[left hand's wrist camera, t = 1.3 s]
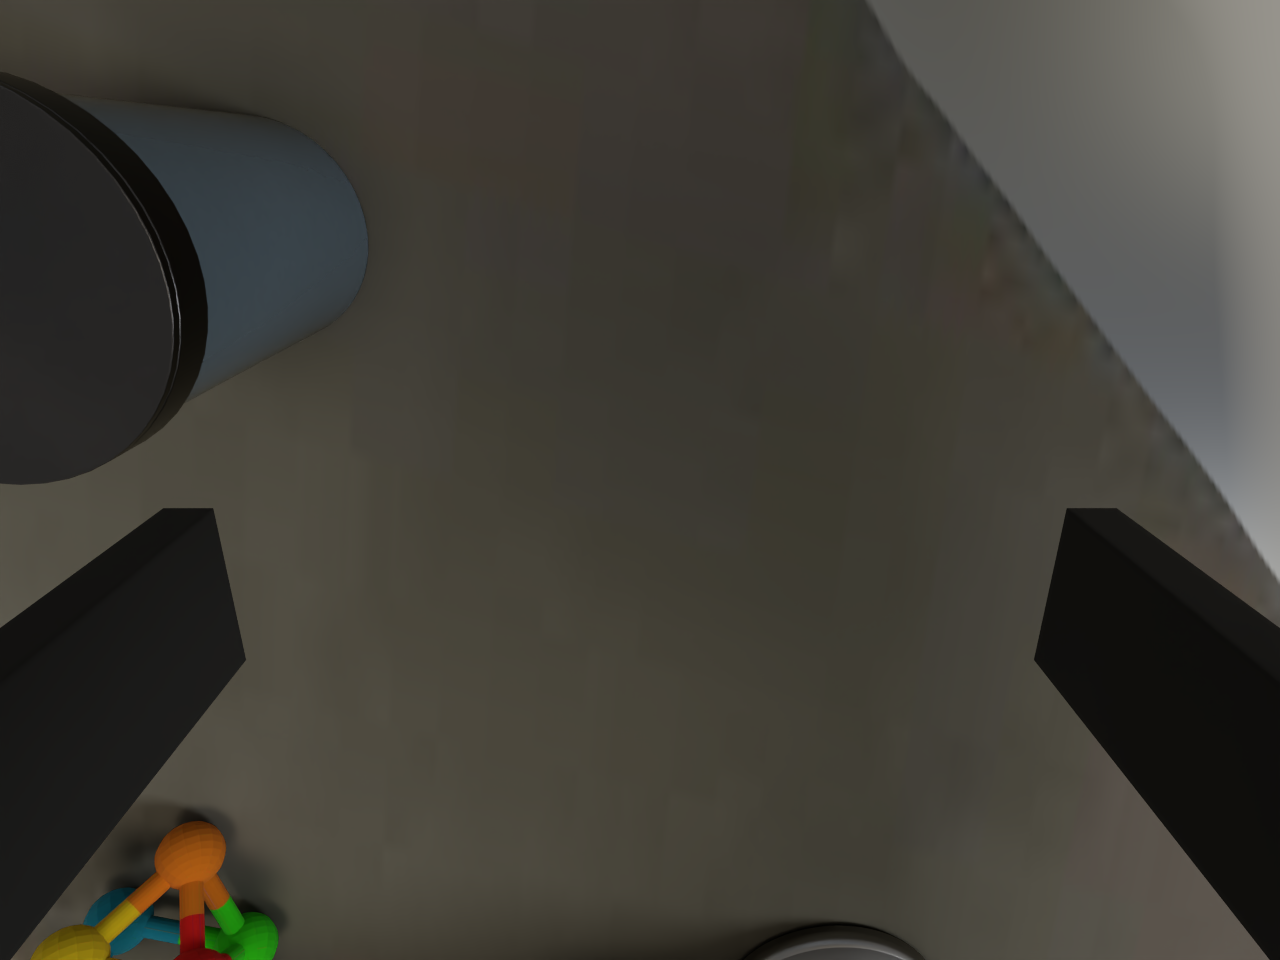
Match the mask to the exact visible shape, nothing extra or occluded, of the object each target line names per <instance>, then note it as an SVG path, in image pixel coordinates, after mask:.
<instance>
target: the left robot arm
mask: <svg viewBox="0 0 1280 960" xmlns="http://www.w3.org/2000/svg"><path fill="white" fill-rule="evenodd" d="M245 660H246V658H245V653H244V649H243V644H242V639H241V635H240V630H239V625H238V621H237V616H236V612H235V607H234V602H233V598H232V593H231V589H230V584H229V579H228V575H227V570H226V565H225V561H224V556H223V552H222V547H221V542H220V538H219V533H218V528H217V524H216V519H215V515H214V510H213V508H163V509H162V510H160V511H159V512H158V513H156V514H155V515H154V516H152V517H151V518H150V519H148V520H147V521H145V522H144V523H143V524H141V525H140V526H139V527H137V528H136V529H135V530H133V531H132V532H130V533H129V534H128V535H126V536H125V537H124V538H122V539H121V540H120V541H118V542H117V543H115V544H114V545H113V546H111V547H110V548H109V549H107V550H106V551H105V552H103V553H102V554H100V555H99V556H98V557H96V558H95V559H94V560H92V561H91V562H90V563H88V564H87V565H86V566H84V567H83V568H81V569H80V570H79V571H77V572H76V573H75V574H73V575H72V576H71V577H69V578H68V579H66V580H65V581H64V582H62V583H61V584H60V585H58V586H57V587H56V588H54V589H53V590H51V591H50V592H49V593H47V594H46V595H45V596H43V597H42V598H41V599H39V600H38V601H36V602H35V603H34V604H32V605H31V606H30V607H28V608H27V609H26V610H24V611H23V612H21V613H20V614H19V615H17V616H16V617H15V618H13V619H12V620H11V621H9V622H8V623H6V624H5V625H4V626H2V627H1V628H0V960H10V959H11V958H12V957H13V956H14V954H15V953H16V952H17V951H18V949H19V948H20V947H21V945H22V944H23V943H24V942H25V940H26V939H27V938H28V937H29V935H30V934H31V933H32V931H33V930H34V929H35V928H36V926H37V925H38V924H39V923H40V921H41V920H42V919H43V917H44V916H45V915H46V914H47V912H48V911H49V910H50V909H51V907H52V906H53V905H54V903H55V902H56V901H57V900H58V898H59V897H60V896H61V895H62V893H63V892H64V891H65V889H66V888H67V887H68V886H69V884H70V883H71V882H72V881H73V879H74V878H75V877H76V875H77V874H78V873H79V872H80V870H81V869H82V868H83V867H84V865H85V864H86V863H87V861H88V860H89V859H90V858H91V856H92V855H93V854H94V853H95V851H96V850H97V849H98V847H99V846H100V845H101V844H102V842H103V841H104V840H105V839H106V837H107V836H108V835H109V833H110V832H111V831H112V830H113V828H114V827H115V826H116V825H117V823H118V822H119V821H120V819H121V818H122V817H123V816H124V814H125V813H126V812H127V811H128V809H129V808H130V807H131V805H132V804H133V803H134V802H135V800H136V799H137V798H138V797H139V795H140V794H141V793H142V791H143V790H144V789H145V788H146V786H147V785H148V784H149V783H150V781H151V780H152V779H153V777H154V776H155V775H156V774H157V772H158V771H159V770H160V769H161V767H162V766H163V765H164V763H165V762H166V761H167V760H168V758H169V757H170V756H171V755H172V753H173V752H174V751H175V749H176V748H177V747H178V746H179V744H180V743H181V742H182V741H183V739H184V738H185V737H186V735H187V734H188V733H189V732H190V730H191V729H192V728H193V727H194V725H195V724H196V723H197V721H198V720H199V719H200V718H201V716H202V715H203V714H204V713H205V711H206V710H207V709H208V707H209V706H210V705H211V704H212V702H213V701H214V700H215V699H216V697H217V696H218V695H219V693H220V692H221V691H222V690H223V688H224V687H225V686H226V685H227V683H228V682H229V681H230V679H231V678H232V677H233V676H234V674H235V673H236V672H237V671H238V669H239V668H240V667H241V665H242V664H243V663H244V662H245ZM1034 660H1035V662H1036V663H1037V664H1038V665H1039V667H1040V668H1041V669H1042V671H1043V672H1044V673H1045V674H1046V676H1047V677H1048V678H1049V679H1050V681H1051V682H1052V683H1053V685H1054V686H1055V687H1056V688H1057V690H1058V691H1059V692H1060V693H1061V695H1062V696H1063V697H1064V699H1065V700H1066V701H1067V702H1068V704H1069V705H1070V706H1071V707H1072V709H1073V710H1074V711H1075V713H1076V714H1077V715H1078V716H1079V718H1080V719H1081V720H1082V721H1083V723H1084V724H1085V725H1086V727H1087V728H1088V729H1089V730H1090V732H1091V733H1092V734H1093V735H1094V737H1095V738H1096V739H1097V741H1098V742H1099V743H1100V744H1101V746H1102V747H1103V748H1104V749H1105V751H1106V752H1107V753H1108V755H1109V756H1110V757H1111V758H1112V760H1113V761H1114V762H1115V763H1116V765H1117V766H1118V767H1119V769H1120V770H1121V771H1122V772H1123V774H1124V775H1125V776H1126V777H1127V779H1128V780H1129V781H1130V783H1131V784H1132V785H1133V786H1134V788H1135V789H1136V790H1137V791H1138V793H1139V794H1140V795H1141V797H1142V798H1143V799H1144V800H1145V802H1146V803H1147V804H1148V805H1149V807H1150V808H1151V809H1152V811H1153V812H1154V813H1155V814H1156V816H1157V817H1158V818H1159V819H1160V821H1161V822H1162V823H1163V825H1164V826H1165V827H1166V828H1167V830H1168V831H1169V832H1170V833H1171V835H1172V836H1173V837H1174V839H1175V840H1176V841H1177V842H1178V844H1179V845H1180V846H1181V847H1182V849H1183V850H1184V851H1185V853H1186V854H1187V855H1188V856H1189V858H1190V859H1191V860H1192V861H1193V863H1194V864H1195V865H1196V867H1197V868H1198V869H1199V870H1200V872H1201V873H1202V874H1203V875H1204V877H1205V878H1206V879H1207V881H1208V882H1209V883H1210V884H1211V886H1212V887H1213V888H1214V889H1215V891H1216V892H1217V893H1218V895H1219V896H1220V897H1221V898H1222V900H1223V901H1224V902H1225V903H1226V905H1227V906H1228V907H1229V909H1230V910H1231V911H1232V912H1233V914H1234V915H1235V916H1236V917H1237V919H1238V920H1239V921H1240V923H1241V924H1242V925H1243V926H1244V928H1245V929H1246V930H1247V931H1248V933H1249V934H1250V935H1251V937H1252V938H1253V939H1254V940H1255V942H1256V943H1257V944H1258V945H1259V947H1260V948H1261V949H1262V951H1263V952H1264V953H1265V954H1266V956H1267V957H1268V958H1269V959H1270V960H1280V628H1279V627H1278V626H1276V625H1275V624H1274V623H1272V622H1271V621H1269V620H1268V619H1267V618H1265V617H1264V616H1263V615H1261V614H1260V613H1259V612H1257V611H1256V610H1254V609H1253V608H1252V607H1250V606H1249V605H1248V604H1246V603H1245V602H1244V601H1242V600H1241V599H1239V598H1238V597H1237V596H1235V595H1234V594H1233V593H1231V592H1230V591H1229V590H1227V589H1226V588H1224V587H1223V586H1222V585H1220V584H1219V583H1218V582H1216V581H1215V580H1214V579H1212V578H1211V577H1209V576H1208V575H1207V574H1205V573H1204V572H1203V571H1201V570H1200V569H1199V568H1197V567H1196V566H1194V565H1193V564H1192V563H1190V562H1189V561H1188V560H1186V559H1185V558H1184V557H1182V556H1181V555H1180V554H1178V553H1177V552H1175V551H1174V550H1173V549H1171V548H1170V547H1169V546H1167V545H1166V544H1165V543H1163V542H1162V541H1160V540H1159V539H1158V538H1156V537H1155V536H1154V535H1152V534H1151V533H1150V532H1148V531H1147V530H1145V529H1144V528H1143V527H1141V526H1140V525H1139V524H1137V523H1136V522H1135V521H1133V520H1132V519H1130V518H1129V517H1128V516H1126V515H1125V514H1124V513H1122V512H1121V511H1120V510H1118V509H1117V508H1067V510H1066V515H1065V519H1064V524H1063V528H1062V533H1061V538H1060V542H1059V547H1058V552H1057V556H1056V561H1055V565H1054V570H1053V575H1052V579H1051V584H1050V589H1049V593H1048V598H1047V602H1046V607H1045V612H1044V616H1043V621H1042V625H1041V630H1040V635H1039V639H1038V644H1037V649H1036V653H1035V658H1034ZM744 960H925V959H924V958H923V957H922V956H921V955H920V954H919V953H918V952H917V951H916V950H915V949H914V948H912V947H911V946H910V945H908V944H907V943H905V942H903V941H901V940H900V939H898V938H896V937H893V936H891V935H889V934H886V933H883V932H880V931H876V930H873V929H868V928H863V927H855V926H822V927H814V928H808V929H803V930H799V931H795V932H792V933H789V934H786V935H783V936H781V937H778V938H776V939H774V940H772V941H770V942H768V943H766V944H764V945H762V946H761V947H759V948H758V949H756V950H755V951H753V952H752V953H751V954H749V955H748V956H747V957H746V958H745V959H744Z"/></svg>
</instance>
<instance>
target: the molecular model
mask: <svg viewBox="0 0 1280 960" xmlns="http://www.w3.org/2000/svg"><path fill="white" fill-rule="evenodd" d="M225 852H226V842H225V840H224V837H223V835H222V834H221V832H220V831H219V830H218V829H217V827H216V826H214V825H212V824H210V823H207V822H203V821H191V822H188V823H184V824H181V825H180V826H178V827H176V828H174V829H173V830H171V831H170V832H169V833H168V834H167V835H166V836H165V837H164V838H163V840H162V842H161V843H160V845H159V847H158V849H157V851H156V854H155V868H156V872H155V873H154V874H153V875H152V876H151V877H150V878H149V879H148V880H146V881H145V882H144V883H143V884H142V885H141V886H140V887H139V888H137V889H135V888H130V887H126V888H118V889H115V890H112V891H110V892H108V893H107V894H105V895H103V896H102V897H101V898H99V899H98V900H97V901H96V902H95V903H94V904H93V905H92V907H91V908H90V910H89V912H88V914H87V915H86V917H85V920H84V923H83V925H82V924H81V925H73V926H68V927H65V928H62V929H60V930H59V931H57V932H55V933H53V934H51V935H50V936H49V937H48V938H46V939H45V940H44V941H43V942H42V943H41V944H40V945H39V946H38V947H37V949H36V950H35V952H34V954H33V955H32V957H31V959H30V960H120V959H115V958H112V956H113V955H119V954H122V953H125V952H127V951H129V950H131V949H132V948H133V947H135V946H136V945H138V944H139V943H140V942H141V941H142V939H143V938H148V939H153V940H158V941H164V942H169V943H174V944H179V945H180V955H179V956H177V957H176V958H175V959H174V960H272V959H273V957H274V955H275V952H276V949H277V946H278V939H279V937H278V931H277V928H276V926H275V924H274V923H273V922H272V920H271V919H270V918H269V917H268V916H266V915H265V914H262V913H258V912H247V913H243V914H241V913H240V911H239V910H238V908H237V906H236V905H235V903H234V901H233V900H232V898H231V896H230V895H229V893H228V891H227V890H226V888H225V886H224V885H223V883H222V881H221V880H220V878H219V876H218V875H217V871H218V870H219V869H220V868H221V865H222V863H223V860H224V857H225ZM170 887H171V888H173V889H177V890H179V901H180V921H178V920H173V919H168V918H163V917H158V916H154V906H153V903H154V902H155V901H156V900H157V899H158V898H159V897H161V896H162V895H163V894H164V893H165V892H166V891H167V890H168V889H169V888H170ZM204 901H205V903H206V904H207V906H208V908H209V909H210V911H211V912H212V914H213V916H214V917H215V919H216V921H217V922H218V924H219V925H220V927H221V929H220V928H214V927H209V926H205V919H204Z"/></svg>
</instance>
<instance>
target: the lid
mask: <svg viewBox="0 0 1280 960" xmlns="http://www.w3.org/2000/svg"><path fill="white" fill-rule="evenodd" d="M207 335H208V303H207V295H206V288H205V281H204V277H203V273H202V269H201V265H200V261H199V258H198V254H197V252H196V249H195V247H194V244H193V242H192V239H191V237H190V234H189V231H188V229H187V227H186V225H185V223H184V221H183V220H182V218H181V216H180V214H179V212H178V210H177V208H176V206H175V204H174V203H173V201H172V200H171V198H170V197H169V195H168V194H167V192H166V191H165V189H164V188H163V186H162V185H161V183H160V182H159V180H158V179H157V178H156V176H155V175H154V174H153V173H152V172H151V170H150V169H149V168H148V167H147V166H146V164H145V163H144V162H143V161H142V160H141V158H140V157H139V156H138V155H137V154H136V153H135V152H134V151H133V150H132V149H131V148H130V147H129V146H128V145H127V144H126V143H125V142H124V141H123V140H122V139H121V138H120V137H119V136H118V135H116V134H115V133H114V132H113V131H112V130H111V129H109V128H108V127H107V126H105V125H104V124H103V123H102V122H100V121H99V120H98V119H97V118H95V117H94V116H93V115H91V114H90V113H89V112H87V111H86V110H84V109H82V108H81V107H79V106H78V105H76V104H74V103H73V102H71V101H70V100H68V99H66V98H65V97H63V96H61V95H59V94H57V93H55V92H53V91H51V90H49V89H47V88H45V87H43V86H41V85H39V84H36V83H34V82H31V81H28V80H26V79H23V78H20V77H17V76H14V75H11V74H8V73H5V72H0V484H16V485H25V484H41V483H49V482H54V481H60V480H65V479H69V478H72V477H75V476H78V475H81V474H84V473H87V472H90V471H92V470H94V469H96V468H97V467H99V466H101V465H103V464H105V463H107V462H109V461H111V460H112V459H114V458H116V457H118V456H119V455H121V454H123V453H125V452H126V451H128V450H130V449H132V448H133V447H135V446H137V445H139V444H140V443H142V442H144V441H146V440H147V439H148V438H150V437H151V436H153V435H154V434H155V433H157V432H158V431H159V430H161V429H162V428H163V427H164V426H165V425H166V424H167V423H168V422H169V421H170V420H171V419H172V418H173V417H174V416H175V415H176V414H177V412H178V411H179V410H180V408H181V407H182V405H183V404H184V402H185V401H186V399H187V398H188V397H189V395H190V393H191V391H192V388H193V386H194V384H195V382H196V380H197V378H198V376H199V372H200V369H201V366H202V362H203V359H204V355H205V349H206V342H207Z"/></svg>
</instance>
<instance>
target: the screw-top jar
mask: <svg viewBox="0 0 1280 960" xmlns="http://www.w3.org/2000/svg"><path fill="white" fill-rule="evenodd" d="M57 94H59V95H61V96H63V97H65V98H66V99H68V100H70V101H71V102H73V103H74V104H76V105H78V106H79V107H81V108H82V109H84V110H86V111H87V112H89V113H90V114H91V115H93V116H94V117H95V118H97V119H98V120H99V121H100V122H102V123H103V124H104V125H105V126H107V127H108V128H109V129H111V130H112V131H113V132H114V133H115V134H116V135H118V136H119V137H120V138H121V139H122V140H123V141H124V142H125V143H126V144H127V145H128V146H129V147H130V148H131V149H132V150H133V151H134V152H135V153H136V154H137V155H138V156H139V157H140V158H141V160H142V161H143V162H144V163H145V164H146V166H147V167H148V168H149V169H150V170H151V172H152V173H153V174H154V175H155V176H156V178H157V179H158V180H159V182H160V183H161V185H162V186H163V188H164V189H165V191H166V192H167V194H168V195H169V197H170V198H171V200H172V201H173V203H174V204H175V206H176V208H177V210H178V212H179V214H180V216H181V218H182V220H183V221H184V223H185V225H186V227H187V229H188V231H189V234H190V237H191V239H192V242H193V244H194V247H195V249H196V252H197V254H198V258H199V261H200V265H201V269H202V273H203V277H204V281H205V288H206V295H207V303H208V335H207V342H206V349H205V355H204V359H203V362H202V366H201V369H200V372H199V376H198V378H197V380H196V382H195V384H194V386H193V388H192V391H191V393H190V395H189V397H188V398H187V399H186V401H185V402H184V403H186V402H188V401H190V400H191V399H193V398H195V397H197V396H199V395H201V394H203V393H204V392H206V391H208V390H210V389H212V388H214V387H216V386H217V385H219V384H221V383H223V382H225V381H227V380H229V379H230V378H232V377H234V376H236V375H238V374H240V373H242V372H243V371H245V370H247V369H249V368H251V367H253V366H255V365H257V364H258V363H260V362H262V361H264V360H266V359H268V358H270V357H271V356H273V355H275V354H277V353H279V352H281V351H283V350H284V349H286V348H288V347H290V346H292V345H294V344H296V343H297V342H299V341H301V340H303V339H305V338H307V337H309V336H310V335H312V334H314V333H316V332H318V331H320V330H322V329H324V328H325V327H327V326H328V325H330V324H331V323H333V322H334V321H335V320H337V319H338V318H339V317H340V316H341V315H342V314H343V313H344V312H345V311H346V309H347V308H348V307H349V305H350V304H351V303H352V301H353V300H354V298H355V296H356V294H357V292H358V291H359V289H360V286H361V283H362V281H363V278H364V275H365V270H366V265H367V257H368V237H367V229H366V223H365V218H364V215H363V212H362V208H361V205H360V202H359V200H358V198H357V196H356V193H355V191H354V189H353V187H352V186H351V184H350V182H349V180H348V179H347V177H346V175H345V174H344V173H343V171H342V170H341V169H340V167H339V166H338V165H337V163H336V162H335V161H334V160H333V159H332V158H331V157H330V156H329V155H328V154H327V153H326V152H325V150H323V149H322V148H321V147H320V146H319V145H317V144H316V143H315V142H314V141H313V140H311V139H310V138H308V137H307V136H305V135H304V134H302V133H301V132H299V131H298V130H296V129H294V128H292V127H290V126H288V125H286V124H283V123H281V122H278V121H275V120H272V119H269V118H265V117H260V116H255V115H247V114H238V113H229V112H220V111H212V110H203V109H194V108H185V107H176V106H167V105H158V104H149V103H140V102H131V101H122V100H113V99H104V98H95V97H86V96H78V95H69V94H60V93H57Z"/></svg>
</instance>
